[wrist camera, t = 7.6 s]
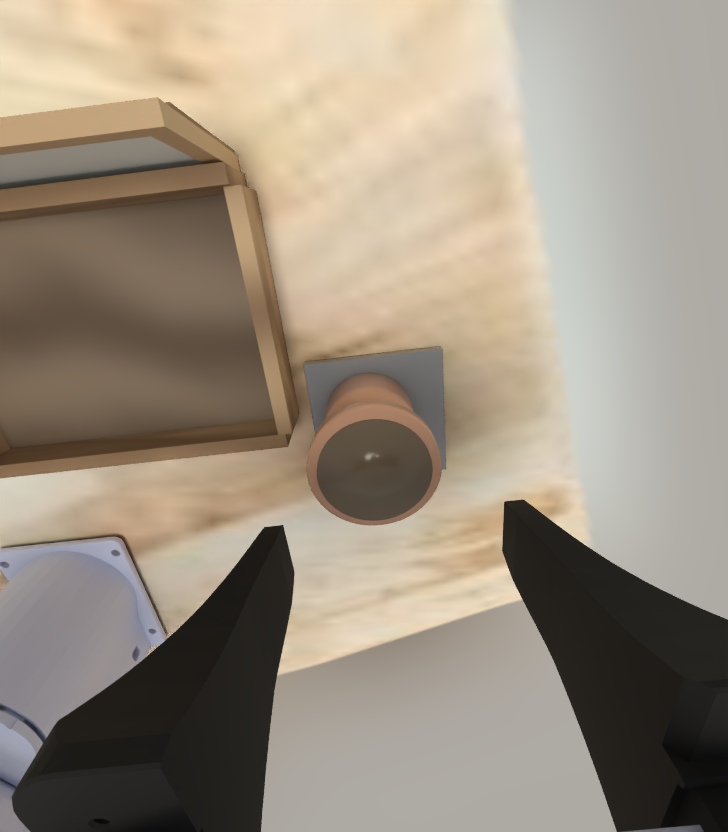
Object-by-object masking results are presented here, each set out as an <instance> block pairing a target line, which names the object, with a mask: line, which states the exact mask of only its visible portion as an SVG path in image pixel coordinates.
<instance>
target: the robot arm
mask: <svg viewBox="0 0 728 832" xmlns="http://www.w3.org/2000/svg"><path fill="white" fill-rule="evenodd" d="M116 550H117V551H116ZM118 551H119V552H118ZM502 551H503V554H504V557H505V560H506V563H507V565H508V568H509V571H510V573H511V576H512V579H513V581H514V583H515V585H516V587H517V589H518V591H519V593H520V595H521V597H522V599H523V601H524V603H525V605H526V607H527V609H528V611H529V613H530V615H531V616H532V618H533V620H534V622H535V624H536V626H537V628H538V630H539V632H540V634H541V636H542V638H543V640H544V641H545V644H546V646H547V648H548V650H549V652H550V654H551V656H552V658H553V660H554V663H555V665H556V667H557V670H558V672H559V675H560V677H561V680H562V682H563V685H564V687H565V689H566V692H567V695H568V697H569V700H570V702H571V705H572V707H573V710H574V712H575V715H576V718H577V721H578V723H579V726H580V728H581V731H582V733H583V736H584V739H585V741H586V744H587V747H588V750H589V752H590V756H591V758H592V761H593V764H594V767H595V769H596V772H597V775H598V778H599V780H600V783H601V786H602V789H603V792H604V795H605V798H606V801H607V804H608V807H609V809H610V812H611V815H612V818H613V821H614V824H615V827H616V830H617V832H728V620H727V619H725V618H722V617H720V616H717V615H715V614H712V613H710V612H708V611H706V610H703V609H701V608H699V607H696V606H694V605H692V604H690V603H687V602H685V601H683V600H681V599H679V598H677V597H675V596H673V595H671V594H669V593H667V592H665V591H663V590H660V589H659V588H657V587H655V586H653V585H651V584H649V583H647V582H645V581H643V580H641V579H640V578H638V577H636V576H634V575H633V574H631V573H629V572H627V571H625V570H624V569H622V568H620V567H618V566H617V565H615V564H613V563H612V562H610V561H609V560H607V559H605V558H604V557H602V556H601V555H599V554H598V553H596V552H595V551H593V550H592V549H590V548H589V547H587V546H586V545H584V544H583V543H581V542H580V541H578V540H577V539H575V538H574V537H573V536H571V535H570V534H568V533H567V532H566V531H564V530H563V529H562V528H560V527H559V526H558V525H556V524H555V523H554V522H552V521H551V520H550V519H548V518H547V517H546V516H544V515H543V514H542V513H540V512H539V511H538V510H537V509H535V508H534V507H533V506H531V505H530V504H529V503H527V502H526V501H525V500H515V501H506V502H504V523H503V547H502ZM0 570H1V572H2V573H3V575H4V576H5V578H6V579H7V581H8V583H7V584H6V585H5V586H4V587H3V588H2V589H1V590H0V832H261V820H262V808H263V796H264V785H265V784H264V783H265V772H266V762H267V752H268V741H269V733H270V723H271V715H272V706H273V697H274V689H275V683H276V678H277V672H278V668H279V663H280V658H281V653H282V649H283V644H284V639H285V634H286V630H287V625H288V620H289V615H290V610H291V605H292V596H293V585H294V569H293V564H292V560H291V556H290V552H289V548H288V544H287V539H286V535H285V531H284V527H283V525H281V526H272V527H264V529H263V530H262V531H261V532H260V534H259V535H258V536H257V538H256V539H255V540H254V542H253V543H252V545H251V546H250V547H249V549H248V550H247V551H246V553H245V554H244V555H243V557H242V558H241V559H240V560H239V562H238V563H237V564H236V566H235V567H234V568H233V569H232V571H231V572H230V573H229V574H228V576H227V577H226V578H225V579H224V581H223V582H222V583H221V584H220V585H219V586H218V588H217V589H216V590H215V591H214V592H213V593H212V595H211V596H210V597H209V598H208V599H207V600H206V601H205V602H204V604H203V605H202V606H201V607H200V608H199V609H198V610H197V611H196V612H195V613H194V614H193V615H192V616H191V617H190V618H189V619H188V620H187V621H186V622H185V623H184V624H183V625H182V626H181V627H180V628H179V629H178V630H177V631H176V632H174V633H173V634H172V635H171V636H170V637H169V638H168V639H166V638H167V637H166V634H165V632H164V630H163V628H162V625H161V623H160V621H159V619H158V617H157V614H156V612H155V610H154V608H153V606H152V603H151V601H150V599H149V597H148V595H147V592H146V590H145V588H144V586H143V584H142V582H141V579H140V577H139V575H138V573H137V571H136V568H135V566H134V564H133V562H132V560H131V557H130V555H129V553H128V551H127V549H126V546H125V544H124V542H123V541H122V539H120V538H118V537H104V538H95V539H86V540H76V541H67V542H57V543H48V544H38V545H29V546H19V547H10V548H1V549H0ZM158 645H160V646H158ZM151 646H158V647H157V648H156V649H155V650H154V651H153V652H152V653H150V654H149V655H148V656H147V657H146V655H147V653H148V651H149V649H150V647H151ZM145 657H146V658H145Z"/></svg>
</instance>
